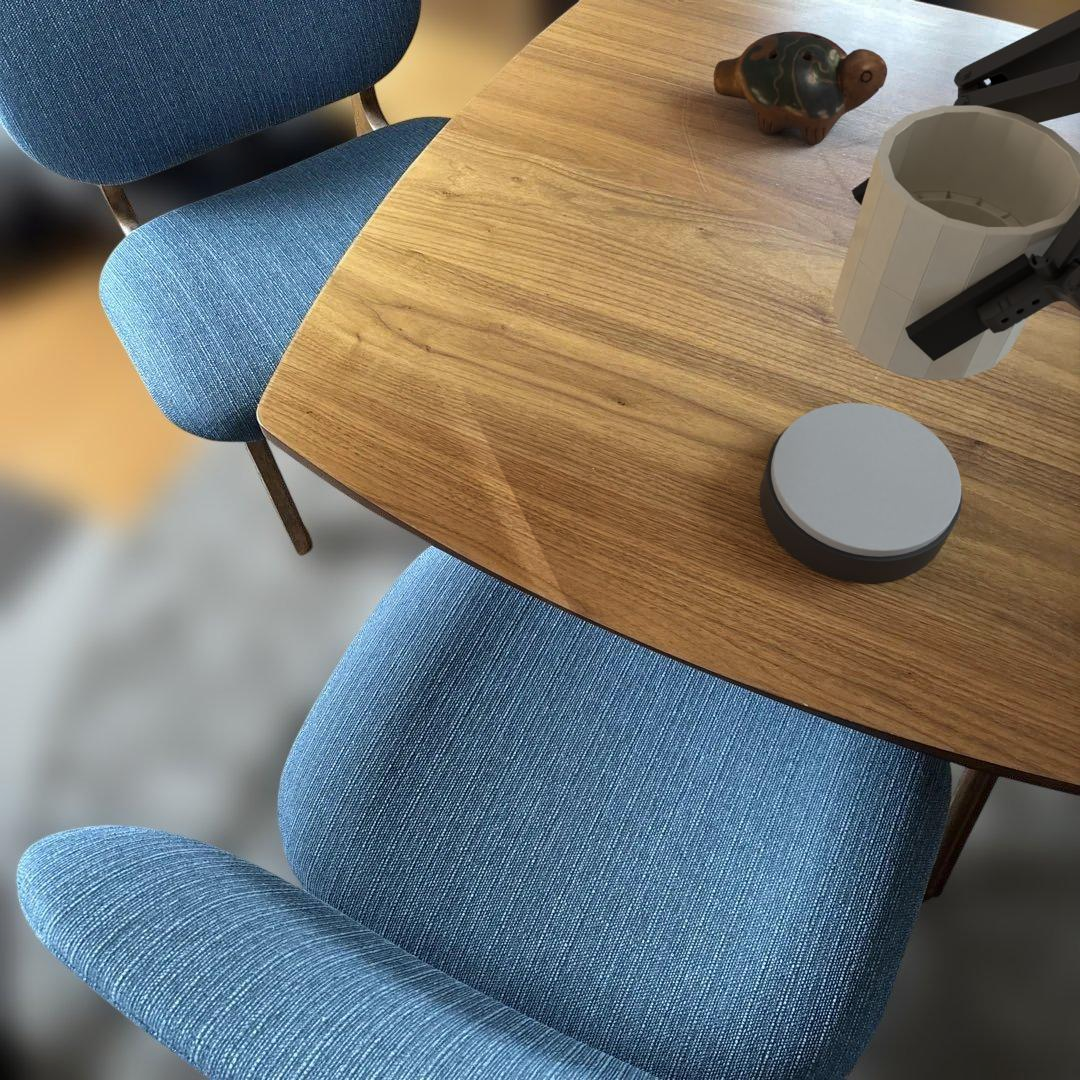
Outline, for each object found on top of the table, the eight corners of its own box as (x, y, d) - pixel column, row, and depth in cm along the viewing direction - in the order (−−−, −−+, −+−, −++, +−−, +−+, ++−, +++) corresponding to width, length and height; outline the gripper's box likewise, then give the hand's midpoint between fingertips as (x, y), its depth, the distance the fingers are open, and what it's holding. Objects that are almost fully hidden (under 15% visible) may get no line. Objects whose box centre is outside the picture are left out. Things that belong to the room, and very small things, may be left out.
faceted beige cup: (1046, 358, 60) (1135, 200, 51) (893, 411, 58) (958, 257, 48) (941, 247, 65) (1004, 87, 56) (798, 292, 63) (839, 133, 54)
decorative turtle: (868, 164, 92) (886, 84, 86) (701, 147, 96) (704, 68, 89) (880, 97, 97) (898, 16, 90) (720, 82, 100) (725, 3, 94)
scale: (987, 545, 70) (1007, 514, 67) (821, 610, 67) (833, 581, 64) (881, 410, 77) (894, 377, 74) (726, 465, 74) (733, 432, 71)
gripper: (1506, 189, 41) (986, 459, 54) (1241, -91, 54) (871, 179, 66) (1477, 73, 37) (916, 398, 49) (1195, -204, 49) (807, 109, 62)
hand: (890, 272), depth 58 cm, fingers closed on faceted beige cup, 11 cm apart
